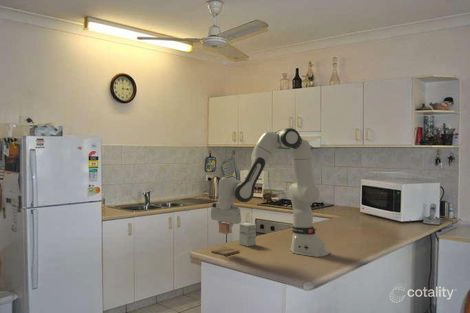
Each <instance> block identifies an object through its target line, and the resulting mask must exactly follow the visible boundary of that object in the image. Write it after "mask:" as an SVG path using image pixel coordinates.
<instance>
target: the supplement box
mask: <svg viewBox="0 0 470 313" xmlns="http://www.w3.org/2000/svg"><path fill="white" fill-rule="evenodd" d="M238 234H239V235H238V236H239V237H238V238H239V239H238V240H239V242H238V243H239V245H242V246H245V247H251V246H255V245H256V243H257V240H256V238H257V236H256V234H257V224H256V223H250V222H243V223H242V222H241V223H239V233H238Z"/></svg>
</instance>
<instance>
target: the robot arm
mask: <svg viewBox="0 0 470 313" xmlns="http://www.w3.org/2000/svg"><path fill="white" fill-rule="evenodd" d="M310 144H311V143H310V141H308V140H306V139H303V138H302V137H301V136H300V133H299V132H298V130H296V129H295V128H292V127H286V128H283V129H279V130H277V131H276V132H272V131H266V132H263V134H262V135H261V136H260V137H259V139H258V141H257V142H256V144H255V146H254V147H253V149H252V152H251V156H250V159H251V165H250V168H249V170H248V173H247V174H246V176H245V178H244V180H243V181H241V180H239V179H237V178H235V177H234V176H232V175H227V176H222V177H221V178H219V181H218V190H217V192H218V199H217V201H216V202H212V203H211V205H210V207H211V208H210V209H211V210H210V218H211V219H210V220H212V221H217V224H218V225H219V224H220V223H229V225H230V226H229V227H228V231H231V230H232V229H233V226H234V224H235V225H240V224H241V223H242V215H241V208H240V207H239V206H235V199H236V200H237V201H238V202H241V203H248V202H250V201H251V200H252V199H253V197H254V194H255V187H256V184H257V182H258V179H259V178H260V176H261V174H262V172H263V170H264V169H265V168H266V166H267V164H269V162H270V161H271V158H272V156H273V155H274V153H275V151H276V150H277V148H279V147H280V148H285V149H290V152H291V162H292V163H291V164H292V174H293V176H294V178H295V181H296V182H293V183H291V184H290V185H289V187H288V195H289V197H290V201H291V206H292V213H293V217H292V218H293V219H292V222H293V223H292V224H293V225H292V238H291V245H290V248H289V251H290V252H291V253H292V254H294V255H295V254H296V255H301V256H302V255H303V256H308V257H309V256H310V257H316V258H320V257H325V256H328V255H329V254H330V253H331V252H330V250H328V249H326V243H325V241H324V240H323V239H322V238H321V237H320V236H319V235H318V234H316V231H317V228H315V227H314V226H313V221H314V220H313V218H314V213H313V210H312V208H311V204H313V203H316V202H317V201H319V199H320V195H321V193H320V190H319V188H318V187H317V184H316V180H315V176H314V172H313V158H312V157H313V156H312V149H311V145H310Z"/></svg>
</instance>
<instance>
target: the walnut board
mask: <svg viewBox="0 0 470 313" xmlns="http://www.w3.org/2000/svg"><path fill="white" fill-rule="evenodd" d="M211 253H212V254H216V255H220V256H225V257H228V256H230V255H235V254H238V253H240V250H239V249H234V248H229V247H226V246H225V247H220V248H217V249H213V250H212V249H211Z"/></svg>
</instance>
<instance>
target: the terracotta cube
mask: <svg viewBox="0 0 470 313" xmlns="http://www.w3.org/2000/svg"><path fill="white" fill-rule="evenodd" d="M229 226H230V225H229V223H228V222H221V223H220V224H218V233H220V234H225V235H227V234H232V233H233V232H232V230H231V231H228V227H229Z"/></svg>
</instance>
